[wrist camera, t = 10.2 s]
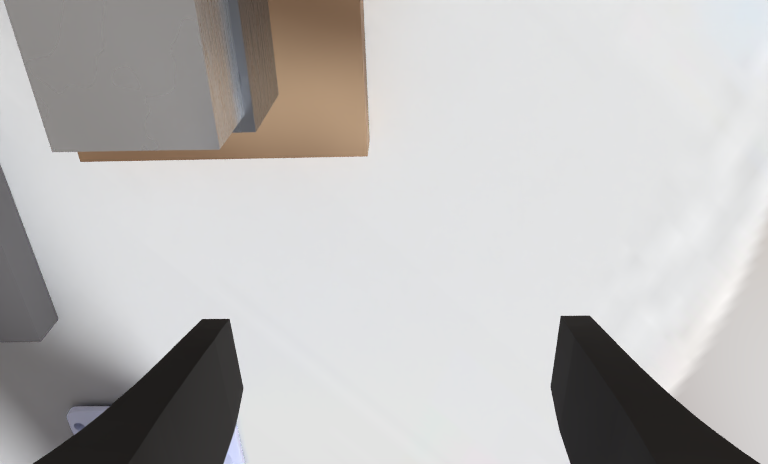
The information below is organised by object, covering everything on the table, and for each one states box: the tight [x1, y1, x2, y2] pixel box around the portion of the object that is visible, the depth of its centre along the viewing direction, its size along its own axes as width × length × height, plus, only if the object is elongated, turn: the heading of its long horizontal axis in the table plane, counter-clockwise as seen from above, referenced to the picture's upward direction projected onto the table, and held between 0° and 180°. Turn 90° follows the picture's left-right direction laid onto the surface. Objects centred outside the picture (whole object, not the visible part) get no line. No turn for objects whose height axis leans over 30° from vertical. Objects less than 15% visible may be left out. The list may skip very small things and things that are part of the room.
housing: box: [4, 0, 279, 152], centre depth 15 cm, size 6×4×6 cm
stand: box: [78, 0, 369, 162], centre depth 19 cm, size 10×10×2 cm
